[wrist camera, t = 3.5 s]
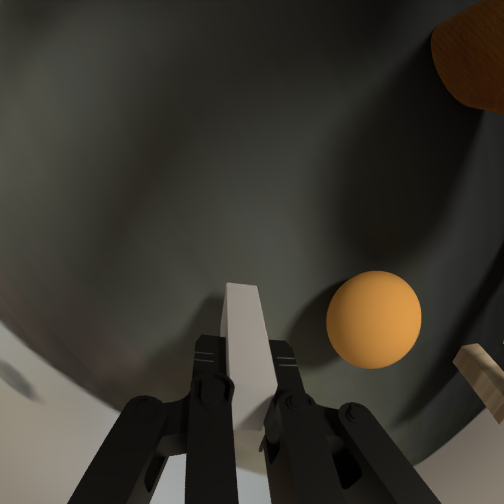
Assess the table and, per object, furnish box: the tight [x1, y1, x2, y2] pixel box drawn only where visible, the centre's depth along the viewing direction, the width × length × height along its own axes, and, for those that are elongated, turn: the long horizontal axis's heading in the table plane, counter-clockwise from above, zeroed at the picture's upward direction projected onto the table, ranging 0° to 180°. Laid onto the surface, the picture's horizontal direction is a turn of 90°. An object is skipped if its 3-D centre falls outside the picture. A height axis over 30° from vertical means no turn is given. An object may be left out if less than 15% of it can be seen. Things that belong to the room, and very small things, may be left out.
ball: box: [326, 271, 421, 369], centre depth 15 cm, size 6×6×6 cm
